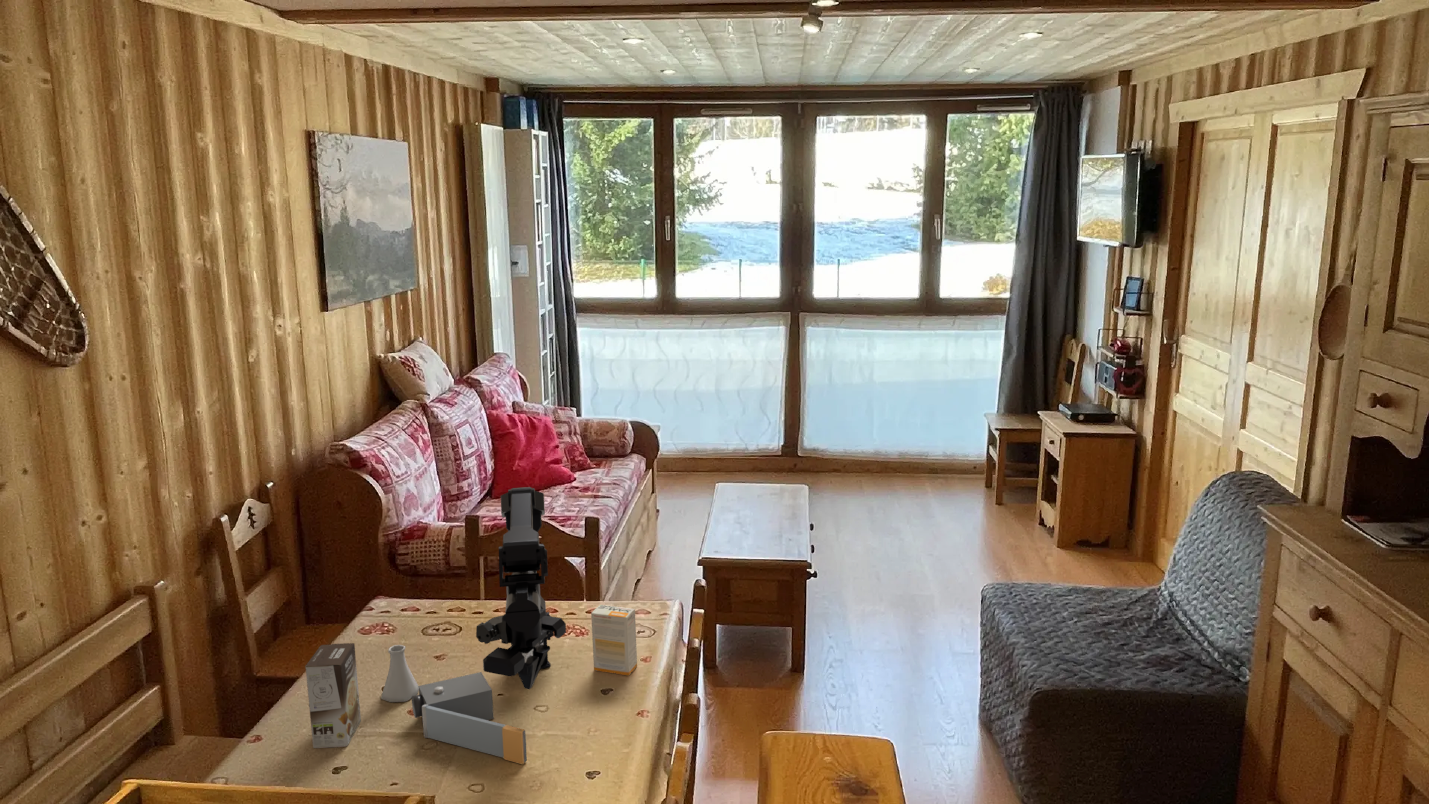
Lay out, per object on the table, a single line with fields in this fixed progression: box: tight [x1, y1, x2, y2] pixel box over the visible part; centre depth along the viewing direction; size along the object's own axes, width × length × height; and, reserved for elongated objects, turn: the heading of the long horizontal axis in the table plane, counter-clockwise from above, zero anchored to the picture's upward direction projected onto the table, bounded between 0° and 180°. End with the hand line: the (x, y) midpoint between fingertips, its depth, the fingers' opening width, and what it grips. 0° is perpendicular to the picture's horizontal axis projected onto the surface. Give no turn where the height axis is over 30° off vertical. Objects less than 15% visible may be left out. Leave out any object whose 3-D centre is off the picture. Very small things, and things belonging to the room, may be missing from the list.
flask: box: [380, 644, 420, 703], centre depth 197 cm, size 7×7×10 cm
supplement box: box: [590, 604, 638, 677], centre depth 207 cm, size 8×5×13 cm, turn 71°
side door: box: [421, 705, 528, 765], centre depth 177 cm, size 22×1×6 cm, turn 66°
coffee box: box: [304, 642, 362, 749], centre depth 182 cm, size 9×6×16 cm
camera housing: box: [411, 671, 495, 721], centre depth 188 cm, size 14×8×7 cm, turn 117°
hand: (528, 688), depth 178 cm, fingers closed
